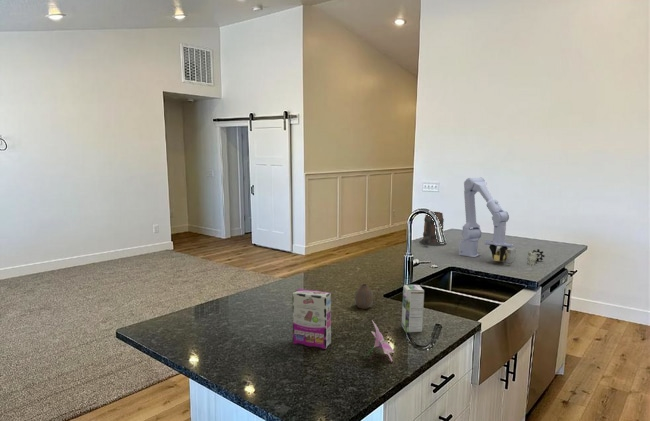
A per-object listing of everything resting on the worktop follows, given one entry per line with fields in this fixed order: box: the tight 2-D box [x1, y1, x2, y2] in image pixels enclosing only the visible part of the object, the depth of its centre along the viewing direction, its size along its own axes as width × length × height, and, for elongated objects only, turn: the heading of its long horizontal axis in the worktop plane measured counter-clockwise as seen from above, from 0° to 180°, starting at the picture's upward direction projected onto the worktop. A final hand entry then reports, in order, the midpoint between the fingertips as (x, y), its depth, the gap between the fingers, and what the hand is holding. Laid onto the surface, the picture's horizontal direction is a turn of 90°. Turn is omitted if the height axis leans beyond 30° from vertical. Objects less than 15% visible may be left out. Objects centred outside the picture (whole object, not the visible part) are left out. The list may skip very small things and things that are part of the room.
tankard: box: [419, 211, 447, 247], centre depth 271 cm, size 24×17×20 cm
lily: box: [366, 319, 395, 362], centre depth 124 cm, size 12×12×10 cm
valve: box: [526, 248, 546, 266], centre depth 228 cm, size 7×7×12 cm
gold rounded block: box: [493, 251, 506, 263], centre depth 229 cm, size 6×11×6 cm, turn 139°
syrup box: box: [401, 284, 425, 333], centre depth 143 cm, size 6×6×14 cm
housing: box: [491, 246, 517, 264], centre depth 233 cm, size 10×8×7 cm
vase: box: [354, 283, 374, 310], centre depth 163 cm, size 7×7×9 cm
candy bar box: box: [292, 288, 332, 350], centre depth 132 cm, size 11×5×16 cm, turn 69°
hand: (497, 259), depth 226 cm, fingers closed on gold rounded block, 3 cm apart
